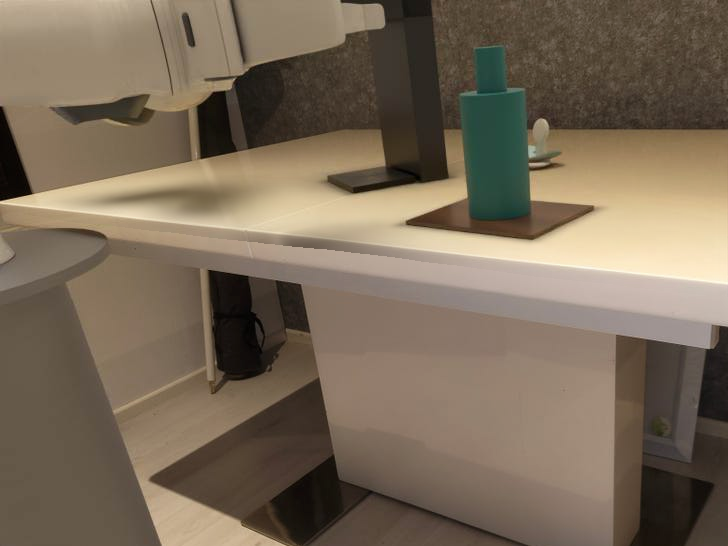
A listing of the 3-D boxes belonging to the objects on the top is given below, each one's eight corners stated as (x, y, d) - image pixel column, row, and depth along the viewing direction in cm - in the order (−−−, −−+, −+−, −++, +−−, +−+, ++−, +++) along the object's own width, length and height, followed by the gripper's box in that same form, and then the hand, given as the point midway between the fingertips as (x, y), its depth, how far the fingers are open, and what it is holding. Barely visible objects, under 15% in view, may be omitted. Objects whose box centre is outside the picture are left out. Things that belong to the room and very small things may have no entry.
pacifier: (533, 173, 93) (568, 164, 95) (530, 125, 90) (565, 117, 92) (504, 167, 98) (537, 159, 101) (500, 122, 96) (534, 115, 98)
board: (532, 239, 63) (532, 235, 63) (406, 224, 72) (405, 220, 72) (594, 209, 71) (594, 205, 71) (473, 199, 80) (473, 195, 80)
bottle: (507, 222, 68) (496, 47, 61) (456, 217, 71) (440, 51, 64) (543, 207, 72) (536, 42, 65) (493, 203, 76) (481, 46, 69)
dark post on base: (355, 194, 88) (319, -35, 77) (326, 180, 100) (290, -21, 89) (448, 177, 94) (427, -39, 82) (410, 165, 105) (386, -26, 94)
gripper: (191, 74, 63) (334, 60, 68) (225, 77, 46) (411, 58, 52) (172, -3, 60) (323, -11, 66) (201, -29, 44) (400, -37, 49)
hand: (362, 19), depth 58 cm, fingers open, 8 cm apart
